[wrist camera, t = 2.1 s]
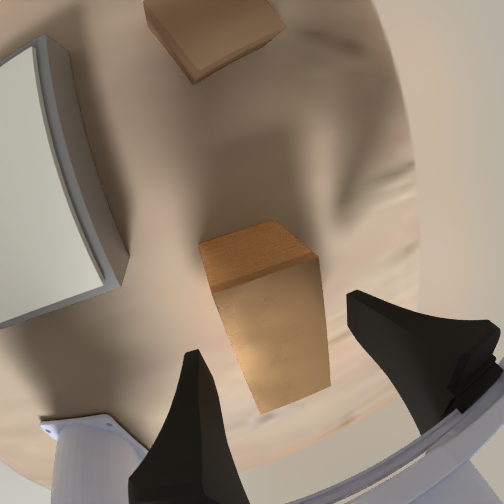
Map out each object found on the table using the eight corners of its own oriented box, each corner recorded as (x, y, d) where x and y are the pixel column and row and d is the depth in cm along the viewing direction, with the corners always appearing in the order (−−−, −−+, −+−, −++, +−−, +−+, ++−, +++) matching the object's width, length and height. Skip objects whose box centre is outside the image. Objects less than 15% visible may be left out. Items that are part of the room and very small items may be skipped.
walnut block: (263, 46, 11) (286, 26, 8) (193, 85, 11) (198, 71, 8) (219, -9, 9) (232, -38, 7) (148, 27, 9) (143, 1, 7)
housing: (296, 332, 18) (330, 385, 14) (238, 354, 18) (260, 414, 13) (273, 218, 15) (318, 256, 10) (198, 243, 14) (211, 294, 10)
